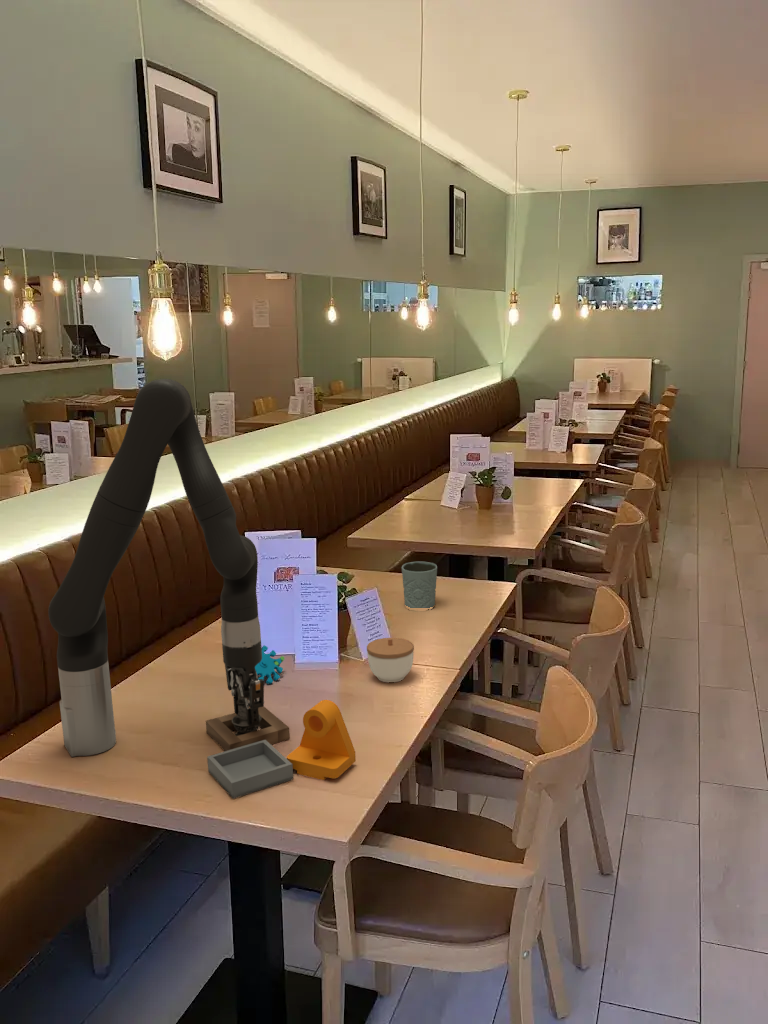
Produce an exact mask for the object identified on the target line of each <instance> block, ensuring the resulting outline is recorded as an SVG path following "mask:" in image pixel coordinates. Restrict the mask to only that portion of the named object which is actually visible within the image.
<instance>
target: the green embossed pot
mask: <svg viewBox="0 0 768 1024" xmlns="http://www.w3.org/2000/svg"><path fill="white" fill-rule="evenodd" d="M401 574H402V575H401V576H402V585H403V586H402V587H403V597H404V598H403V599H404V606H405V605H406V606H408V607H410V608H430V607H433V606H434V605H436V595H437V594H436V592H437V591H436V589H437V577H438V576H437V575H438V566H437V564H436V563H434V562H428V561H411V562H405V563H403V564H402V565H401Z"/></svg>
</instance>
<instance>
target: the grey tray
mask: <svg viewBox="0 0 768 1024" xmlns="http://www.w3.org/2000/svg"><path fill="white" fill-rule="evenodd" d="M206 759H207V769H208V770H207V772H208V773H209V774H210V775H211V776H212V778H214V780H215V781H216V782H217V783H218V784H219V786H221V788H223V790H224V791H225V792H226V793H227V794H228V795H229V796H230V797H231V799H233V800H234V799H237V798H240V797H243V796H246V795H250V794H252V793H255V792H258V791H262V790H264V789H268V788H271V787H274V786H277V785H281V784H283V783H287V782H289V781H290V782H291V781H292V780H294V769H293V765H292V763H291V762H290V761H288V760H287V757H286V756H284V755H283V754H282V753H281V752H279V750H277V748H275V747H274V745H273V744H272V745H271V744H270V743H269V742H267V741H266V740H262V741H259V742H255V743H252V744H248V745H245V746H241V747H238V748H235V749H231V750H228V751H224V750H223V751H221V752H219V753H215V754H210V755H208V756H207V757H206Z"/></svg>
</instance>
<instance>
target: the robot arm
mask: <svg viewBox="0 0 768 1024" xmlns="http://www.w3.org/2000/svg"><path fill="white" fill-rule="evenodd" d="M167 446H168V447H169V449H170V452H171V453H172V455H173V458H174V461H175V464H176V466H177V469H178V473H179V475H180V478H181V483H182V486H183V489H184V492H185V496H186V498H187V500H188V503H189V505H190V507H191V509H192V512H193V513H194V515H195V517H196V518H195V519H197V521H198V524H199V525H200V527H201V529H202V533H203V537H204V540H205V544H206V547H207V548H206V549H207V551H208V554H209V558H210V561H211V563H212V564H213V567H214V568H215V570H216V572H217V573H218V574H219V575H220V576H222V577H223V587H222V590H221V593H220V613H221V614H220V615H221V625H220V627H221V629H220V633H221V636H220V637H221V645H222V646H221V649H222V661H223V664H224V669H225V677H226V684H227V689H228V691H231V692H230V693H231V696H232V697H233V709H234V711H233V713H236V714H237V715H238V704H237V703H236V701H237V700H238V690H237V689H238V686H239V688H240V692H241V696H242V698H244V699H245V703H246V707H247V708H246V710H247V724H248V725H249V726H250V727H251V726H255V725H258V724H259V711H258V708H259V707H263V706H264V705H265V701H264V699H265V697H264V696H265V681H263V679H259V680H258V678H259V677H258V675H257V673H256V670H255V666H256V665H257V664H258V663H259V662H260V661H261V660H262V647H263V646H262V634H261V633H262V632H261V623H260V619H259V607H258V606H259V605H258V595H257V581H258V565H259V563H258V562H259V561H258V560H259V559H258V552H257V547H256V545H255V544H254V541H252V540H251V539H250V538H249V537H247V536H244V535H242V534H240V533H239V530H238V526H237V513H236V510H235V508H234V506H233V503H232V501H231V499H230V496H229V494H228V493H227V491H226V488H225V486H224V484H223V482H222V480H221V478H220V476H219V474H218V472H217V470H216V468H215V466H214V464H213V461H212V459H211V457H210V455H209V453H208V451H207V448H206V446H205V443H204V439H203V438H202V434H201V431H200V429H199V425H198V423H197V419H196V416H195V411H194V407H193V404H192V398H191V396H190V393H189V391H188V390H187V388H186V387H185V386H184V385H183V384H181V383H180V382H178V381H177V380H173V379H171V378H160V379H154V380H151V381H149V382H147V383H146V384H144V385H143V386H142V387H141V388H140V389H139V391H138V393H137V395H136V398H135V401H134V404H133V408H132V411H131V415H130V417H129V420H128V424H127V427H126V431H125V434H124V437H123V440H122V442H121V445H120V447H119V448H118V451H117V453H116V454H115V456H114V458H113V460H112V462H111V464H110V465H109V468H108V469H107V471H106V474H105V476H104V477H103V481H102V482H101V484H100V486H99V488H98V491H97V493H96V495H95V497H94V500H93V502H92V505H91V507H90V509H89V512H88V515H87V517H86V520H85V523H84V527H83V530H82V532H81V535H80V539H79V541H78V545H77V550H76V553H75V554H74V558H73V560H72V563H71V566H70V567H69V569H68V571H67V572H66V574H65V577H64V578H63V580H62V583H60V585H59V587H58V590H57V591H56V592H55V594H54V596H53V597H52V599H51V600H50V601H49V605H48V611H47V612H48V613H47V614H48V620H49V623H50V625H51V627H52V628H53V630H54V631H55V632H56V633H57V636H58V637H57V638H58V639H57V650H56V662H57V669H58V679H59V681H58V682H59V688H60V697H61V699H60V700H59V709H60V711H59V712H60V718H61V728H62V735H63V737H62V738H63V744H64V745H63V746H64V747H65V749H66V750H67V752H68V754H69V755H70V757H71V758H73V757H79V756H81V757H85V756H93V755H98V754H102V753H104V752H107V751H108V750H110V749H112V748H113V747H114V746H115V745H116V743H117V733H116V732H117V731H116V727H115V726H116V724H115V716H114V706H113V705H114V704H113V696H112V687H111V677H110V676H111V675H110V666H109V665H110V664H109V656H108V655H109V654H108V645H109V635H108V622H107V609H106V608H107V607H106V601H105V597H104V596H105V594H106V592H107V588H108V585H109V582H110V580H111V577H112V576H113V574H114V571H115V570H116V568H117V566H118V564H119V563H120V561H121V559H122V558H123V556H124V554H125V553H126V551H127V550H128V548H129V546H130V544H131V542H132V541H133V539H134V537H135V535H136V533H137V532H138V529H139V527H140V526H141V525H140V524H141V523H142V520H143V518H144V516H145V513H146V510H147V509H148V506H149V503H150V500H151V498H152V497H151V496H152V494H153V493H152V492H153V488H154V484H155V482H156V481H155V480H156V475H157V470H158V467H159V463H160V460H161V458H162V456H163V453H164V452H165V449H166V448H167ZM246 690H250V692H248V693H246V692H245V691H246ZM249 696H250V701H249ZM254 700H255V701H254ZM264 707H265V706H264Z"/></svg>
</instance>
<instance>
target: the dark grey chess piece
mask: <svg viewBox="0 0 768 1024" xmlns="http://www.w3.org/2000/svg"><path fill="white" fill-rule="evenodd" d="M237 690H238V700H237V701H236V703H237V704H238V715H236V716H235V717H233V719H232V723H233V724H234V727H235V729H236V730H235V731H237V732H236V733H234V734H235V735H236V736H239V735H243V734H246V733H250V732H253V731H257V730H259V727H260V726H259V725H260V721H261V718H262V717H261V716H260V715H259V724H258V725H255V726H251V727H250V726H249V725H248V724H247V710H246V708H247V707H246V703H245V699H244V698H242V696H241V692H240V688H239V686H238V689H237ZM245 692H246V693H248V692H250V690H246V691H245ZM249 701H250V696H249ZM254 701H255V700H254Z"/></svg>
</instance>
